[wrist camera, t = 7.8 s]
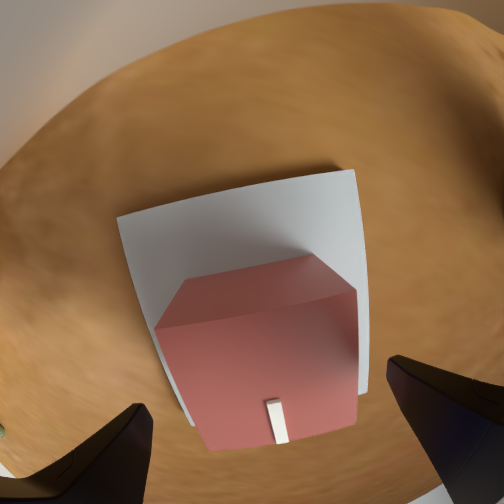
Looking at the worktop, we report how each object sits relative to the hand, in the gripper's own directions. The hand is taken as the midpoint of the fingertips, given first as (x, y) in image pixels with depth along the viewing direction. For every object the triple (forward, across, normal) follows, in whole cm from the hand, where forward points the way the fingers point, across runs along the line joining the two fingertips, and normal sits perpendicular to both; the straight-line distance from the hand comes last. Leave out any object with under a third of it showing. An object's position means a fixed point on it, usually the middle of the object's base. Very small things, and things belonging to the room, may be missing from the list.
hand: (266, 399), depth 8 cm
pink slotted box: (+6, 0, 0) cm, 6 cm away
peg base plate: (+7, 0, 0) cm, 7 cm away
